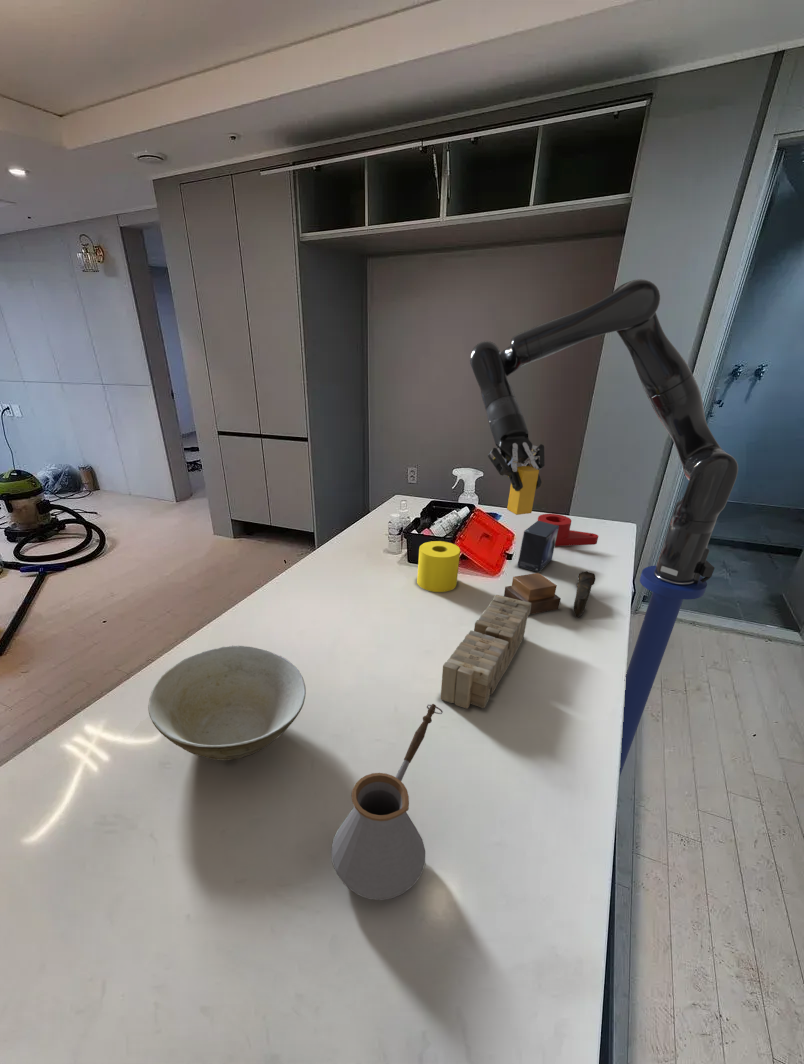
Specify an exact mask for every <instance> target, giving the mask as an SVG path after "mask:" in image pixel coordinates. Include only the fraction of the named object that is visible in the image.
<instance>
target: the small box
mask: <svg viewBox="0 0 804 1064" xmlns="http://www.w3.org/2000/svg"><path fill="white" fill-rule="evenodd" d="M558 529H559V526H558V525H554V524H549V523H546V522H542V521H538V520H536V521H535V522H534V523H533V524H531V525H530V526H528V527H527V528H526V529H525V530H524V531H523V534H522V538H521V539H522V540H521V545H520V551H519V556H518V561H517V565H516V567H518V568H522V569H525V570H529V571H532V572H534V573H540V572H541V571H542V570H543V569H544V568H545V567H546V566H547V565H548V564H549V563H550V562H551V561H552V560H553V556H554V551H555V547H556V546H555V542H556V538H557V533H558Z"/></svg>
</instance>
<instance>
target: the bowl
mask: <svg viewBox="0 0 804 1064" xmlns="http://www.w3.org/2000/svg"><path fill="white" fill-rule="evenodd" d="M150 692H151V693H150V695H149V699H148V705H147V711H148V715H149V719H150V720H151V723H152V724H153V726H154V727H155V729H156V730H158V732H159V733H160V734H161V735H163V736H164V738H166V739H167V740H168V741H170V742H171V743H173V744H174V745H176V746H178V747H179V748H181V749H183V750H184V751H186V752H187V753H190V754H193V755H195V756H197V757H201V758H206V759H210V760H217V761H218V760H219V761H231V760H237V759H241V758H245V757H248V756H250V755H253V754H255V753H258V752H259V751H262V749H264V748H265V747H268V746H269V745H270V744H272V743H273V742H274V741H275V740H276V739H278V738H279V737H280V736H281V735H283V734H284V733H285V731H287V729H288V728H289V727H290V726H291V725H292V724H293V722H294V721H295V720H296V718H298V716H299V714H300V713H301V711H302V709H303V707H304V704H305V699H306V694H307V688H306V684H305V680H304V677H303V675H302V673H301V672H300V670H299V668H298V667H296V665H294V664H293V662H291V661H290V660H288V659H287V658H285V657H283V656H282V655H279V654H277V653H274V652H272V651H270V650H267V649H263V648H258V647H254V646H247V645H230V646H222V647H218V648H212V649H207V650H205V651H202V652H200V653H197V654H193V655H191V656H188V657H186V658H184V659H182V660H180V661H179V662H177V663H176V664H175V665H173V666H171V668H169V669H167V671H165V672H164V673H163V674H162V675H161V676H160V678H159V679H158V680H157V682H156V683H155V685H154V686H153V688H152V689H151V691H150Z"/></svg>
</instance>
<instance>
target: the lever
mask: <svg viewBox="0 0 804 1064" xmlns="http://www.w3.org/2000/svg"><path fill="white" fill-rule="evenodd" d="M537 521H542V522H546V523H549V524H554V525H558V526H559V529H558V533H557V538H556V542H555V547H561V546H564V547H565V546H591V545H592V546H593V545H594V546H595V545H597V543H598V540H599V535H598V534H596V533H592V532H586V531H585V532H584V531H578V530H571V526H572V519H571V518H570V517H568V516H566V515H562V514H557V513H543V514H540V515H538V517H537Z"/></svg>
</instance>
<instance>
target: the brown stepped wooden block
mask: <svg viewBox="0 0 804 1064" xmlns="http://www.w3.org/2000/svg"><path fill="white" fill-rule="evenodd" d="M556 592H557V584H555V583H554V582H553V581H551V580H549V579H548V578H547V577H545V576H544V575H543V574H541V573H540V572H534V573H527V574H521V575H516V576H512V582H511V585H508V586H505V587H504V592H503V596H504V597H508V598H512V599H516V600H521V601H525V602H529V603H531V610H530V614H529V615H528V616H530V615H536V614H541V613H546V612H552V611H558V610H559V608H560V605H561V600H562V599H561V597H560V596H558V595H557V594H556Z"/></svg>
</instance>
